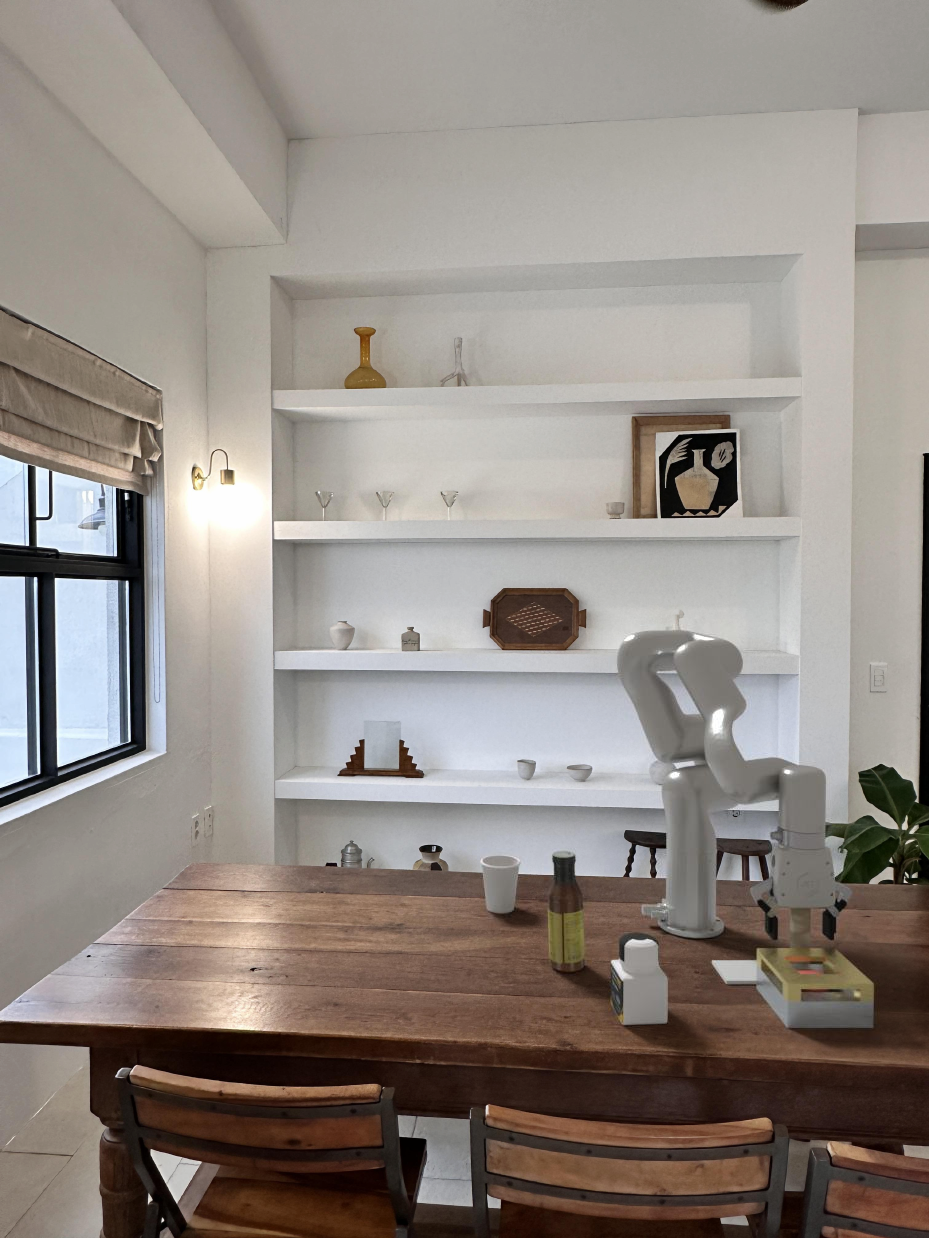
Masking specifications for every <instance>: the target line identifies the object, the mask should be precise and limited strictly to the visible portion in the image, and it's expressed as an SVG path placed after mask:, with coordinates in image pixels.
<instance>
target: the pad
mask: <svg viewBox="0 0 929 1238" xmlns="http://www.w3.org/2000/svg"><path fill="white" fill-rule="evenodd" d="M711 965H712V966H713V968H714V969H715V970H716V972H717V973H718V975H719V977H721V979H722V981H723V982H724V983H725V984H726V985H756V977H757V959H753V960H751V959H744V960H743V959H742V960H741V959H740V960H735V959H734V960H727V959H726V960H725V959H723V960H720V959H719V960H718V959H717V960H716V959H715V960H714V959H712V960H711Z"/></svg>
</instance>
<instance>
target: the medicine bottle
mask: <svg viewBox="0 0 929 1238" xmlns="http://www.w3.org/2000/svg"><path fill="white" fill-rule="evenodd" d="M618 940H619V941H618V946H619V947H618V959H612V960H611V961H610V1005H611V1006H612V1008H613V1011H614V1012H615V1014H616V1016H617V1018H618V1020H619V1022H620V1023H621V1024H622V1025H623V1026H631V1025H632V1026H634V1025H636V1026H637V1025H639V1026H640V1025H658V1024H659V1025H662V1024H663V1025H664V1024H665V1025H666V1024H667V1023H668V1009H669V1008H668V1001H669V999H668V998H669V997H668V995H669V994H668V993H669V989H668V988H669V987H668V986H669V984H668V983H669V978H668V977H667V975H666V974H665V972H664V971H663V970H662V969H661V967H660V965H659V962H660V960H659V957H660V956H659V955H660V953H659V952H660V951H659V948H660V943H659V941H658V940H657V938H656V937H654V936H652V935H650V934H647V933H644V932H639V931H638V932H629V933H625V934H623V935H621V937H620V938H619V939H618Z"/></svg>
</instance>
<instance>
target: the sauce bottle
mask: <svg viewBox="0 0 929 1238" xmlns="http://www.w3.org/2000/svg"><path fill="white" fill-rule="evenodd" d="M576 858H577V857H576V853H574V852H572V851H569V850H559V851H558V850H557V851H555V852H553V853H552V856H551V860H552V863H553V876H552V877H553V880H552V881H551V883H550V884H549V887H548V889H547V919H548V920H547V921H548V922H547V924H548V925H547V926H548V955H549V961H550V965H551V967H552V969H554V970H557V971H559V972H563V973H575V972H578V971H581V970H582V969H584V966H585V964H586V963H585V960H586V959H585V957H586V953H585V951H586V948H585V947H586V945H585V942H586V941H585V920H584V919H585V918H584V903H583V893H582V891H581V888H580V886H579V885H578V882H577V879H576V878H577V877H576V870H575V869H576V861H577V859H576Z"/></svg>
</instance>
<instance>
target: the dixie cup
mask: <svg viewBox="0 0 929 1238" xmlns="http://www.w3.org/2000/svg"><path fill="white" fill-rule="evenodd" d="M480 864H481V867H482V868H481V869H482V876H483V877H482V878H483V887H484V895H485V904H486V910H487V911H488V912H491V913H494V914H508V913H511V912H512V911H514V910H515V903H516V894H517V888H518V887H517V885H518V877H519V869H520V865H521V860H520V859H519V858H517V857H515V856H512V855H505V854H493V855H487V856H484V857H483V858H481V860H480Z"/></svg>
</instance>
